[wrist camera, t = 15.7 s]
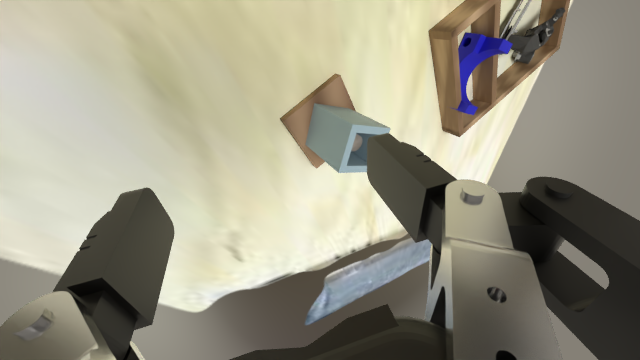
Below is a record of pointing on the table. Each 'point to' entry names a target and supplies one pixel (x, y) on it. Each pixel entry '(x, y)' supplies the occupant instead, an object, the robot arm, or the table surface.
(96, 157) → the table surface
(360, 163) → the collar
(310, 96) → the pin stand
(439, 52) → the frame
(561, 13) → the bicycle component
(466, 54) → the cable clip
